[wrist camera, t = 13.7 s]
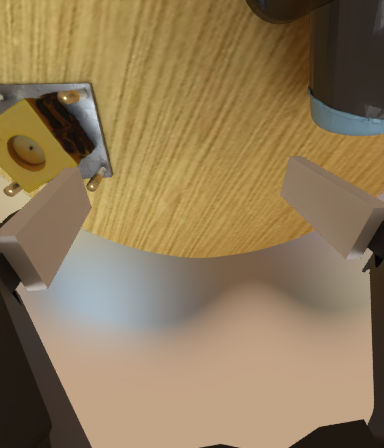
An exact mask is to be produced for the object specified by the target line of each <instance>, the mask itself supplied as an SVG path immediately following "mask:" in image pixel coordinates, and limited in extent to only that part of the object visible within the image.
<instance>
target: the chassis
mask: <svg viewBox="0 0 384 448" xmlns="http://www.w3.org/2000/svg"><path fill="white" fill-rule="evenodd" d="M52 92H56V93H57V94H58V95H57V97H58V100H59V101H60V103H62V104H64V106H65V107H66V109H67V111H68V112H69V113H70V114H72V115H73V116H74V118H75V119H76V120H77V121H78V123H79V125H80V126H81V127H82V129H83V130H84V132H85V133H86V135H87V136H88V138H89V139H90V141H91V142H92V143H93V145H94V147H95V149H94V150H93V152H92V153H91V154H89V155H88V156H86V157H85V159H82V160H81V162H80V164H79V165H78V166H77V167H79V170H80V173H81V176H82V179H86V178H91V179H90V181H89V182H88V184H87V185H86V187H87V189H88V190H89V191H92V192H93V191H95V190H96V189H97V187H98V186H99V184H100V182H101V180H102V179H103V178H104V177H112V175H113V172H112V168H111V164H110V160H109V155H108V151H107V147H106V143H105V138H104V134H103V130H102V126H101V121H100V117H99V113H98V109H97V105H96V100H95V96H94V92H93V88H92V83H75V84H19V85H0V115H1V114H2V113H3V112H5V111H6V110H7V109H9V108H10V107H12V106H13V105H15V104H16V103H17V102H19V101H21V100H22V99H25V98H32V97H33V98H39V97H40V96H41V95H43V94H49V93H52ZM52 180H53V179H52ZM50 181H51V180H50ZM22 189H23V188H22V187H21V186H20V185H19V184H18V183H17V182H16V181H14V182H13V183H12V184H10V185H9V186H7V187H6V188H5V189H4V193H5V194H6V195H7V196H10V197H12V196H14V195H15V194H17V193H18V192H19V191H21V190H22Z"/></svg>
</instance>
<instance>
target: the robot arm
mask: <svg viewBox="0 0 384 448" xmlns="http://www.w3.org/2000/svg"><path fill="white" fill-rule="evenodd" d="M246 1H247V3H248V5H249V6H250V8H251V9H252V10H253V12H254V13H255V14H256V15H257V16H259V17H260V18H261V19H263V20H265V21H267V22H270V23H274V24H283V23H288V22H291V21H293V20H295V19H298V18H300V17H302V16H304V15H306V14H307V13H309V87H308V94H309V97H310V105H311V116H312V119H313V121H314V122H315V123H316V124H318V126H319V127H320V128H322V129H324V130H326V131H329V132H333V133H337V134H343V135H353V136H370V135H380V134H382V133H384V0H246ZM316 8H317V9H316ZM280 195H281V196H282V197H283V198H284V199H285V200H286V201H287V202H288V203H289V204H290V205H291V206H292V207H293V208H294V209H295V210H296V211H297V212H298V213H299V214H300V215H301V216H302V217H303V218H304V219H305V220H306V221H307V222H308V223H309V224H310V225H311V226H312V227H313V228H314V229H315V230H316V231H317V232H319V234H320V235H321V236H322V237H323V238H324V239H325V240H326V241H328V242H329V243H330V245H332V246H333V247H334V248H335V249H336V250H337V251H338V252H339V253H340V254H341V255H342V256H343V257H344V258H345V259H355V258H361V257H362V255H363V254H364V252H365V250H366V249H367V248H369V249H370V250H371V251H372V252H373V254H372V256H371V257H370V259H369V260H368V262H367V264H366V265H365V267H364V268H363V270H362V272H365V271H366V270H368V269H370V273H369V274H370V290H371V319H372V350H373V380H374V409H373V414H372V416H371V418H370V420H369V423H368V426H367V425H366V422H365V421H364V419H363V420H357V421H351V422H346V423H340V424H334V425H328V426H322V427H319V428H317V429H316V430H314V431H313V432H311V433H310V434H308V435H307V436H305V437H304V438H302V439H301V440H299V441H298V442H296V443H295V444H293V445H292V446H291V447H289V448H384V202H382V201H381V200H379V199H377V198H375V197H373V196H372V195H370V194H368V193H366V192H365V191H363V190H361V189H359V188H357V187H356V186H354V185H352V184H350V183H348V182H347V181H345V180H343V179H341V178H340V177H338V176H336V175H334V174H332V173H331V172H329V171H327V170H325V169H323V168H322V167H320V166H318V165H316V164H315V163H313V162H311V161H309V160H307V159H306V158H304V157H302V156H290V158H289V162H288V166H287V170H286V174H285V178H284V182H283V186H282V190H281V194H280ZM91 208H92V207H91V204H90V201H89V198H88V195H87V192H86V189H85V186H84V183H83V180H82V176H81V173H80V170H79V167H74V168H64V169H63V170H62V171H61V172H60V173H59V174H58V175H57V176H56V177H55V178H54V179H53V180H51V181H50V182H49V183H48V184H47V185H46V186H45V187H44V188H43V189H42V190H41V191H40V192H39V193H38V194H36V195H35V196H34V197H33V198H32V199H31V200H30V201H29V202H28V203H27V204H26V205H25V206H24V207H22V209H20V210H18V211H16V212H14V213H13V214H11V215H9V216H8V217H7V218H6V219H5V220H4V221H3V223H0V448H92V447H91V445H90V443H89V441H88V439H87V437H86V434H85V432H84V430H83V428H82V426H81V424H80V422H79V420H78V418H77V415H76V413H75V411H74V409H73V407H72V405H71V403H70V401H69V399H68V397H67V395H66V392H65V390H64V388H63V386H62V384H61V382H60V380H59V377H58V375H57V373H56V371H55V369H54V367H53V365H52V363H51V360H50V358H49V356H48V354H47V352H46V350H45V348H44V346H43V344H42V342H41V339H40V337H39V335H38V333H37V331H36V329H35V327H34V325H33V322H32V320H31V318H30V316H29V314H28V312H27V310H26V308H25V306H24V304H23V301H22V299H21V297H20V295H19V294H18V292H17V291H16V290H15V289H16V288H17V286H18V285H19V283H20V282H22V283H23V285H24V286H25V287H26V289H27V290H28V291H33V290H43V289H48V288H49V286H50V284H51V282H52V280H53V278H54V276H55V275H56V273H57V271H58V269H59V267H60V265H61V264H62V262H63V260H64V258H65V256H66V254H67V253H68V251H69V248H70V247H71V245H72V243H73V241H74V240H75V238H76V236H77V234H78V232H79V230H80V228H81V227H82V225H83V223H84V221H85V219H86V217H87V215H88V214H89V212H90V210H91ZM202 448H238V447H233V446H228V445H223V444H219V445H213V446H207V447H202Z"/></svg>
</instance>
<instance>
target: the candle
mask: <svg viewBox="0 0 384 448" xmlns="http://www.w3.org/2000/svg"><path fill="white" fill-rule="evenodd" d="M57 95H58V94H57V93H56V92H52V93H49V94H43V95H41V96H40V97H39V98H33V97H32V98H25V99H22V100H21V101H19V102H17V103H16V104H15V105H13V106H12V107H10V108H9V109H7V110H6V111H5V112H3V113H2V114H1V115H0V167H1V168H2V169H3V170H4V171H5V172H6V173H8V175H9V176H10V177H11V178H12V179H13V180H15V181H16V182H17V183H18V184H19V185H20V186H21V187H22V188H23V189H24V190H25V191H26V192H28V193H30V192H32V191H34V190H35V189H37V188H38V187H40V186H41V185H43V184H44V183H47V182H49V181H50V180H52V179H54V178H55V177H56V176H57V175H58V174H59V173H60V172H61V171H62V170H63V169H64V168H74V167H77V166H78V165H79V164H80V162H81V160H82V159H85V157H86V156H88V155H89V154H91V153H92V152H93V150H94V149H95V147H94V145H93V143H92V142H91V141H90V139H89V138H88V136H87V135H86V133H85V132H84V130H83V129H82V127H81V126H80V125H79V123H78V121H77V120H76V119H75V118H74V116H73V115H72V114H70V113H69V112H68V111H67V109H66V107H65V106H64V104H62V103H60V101H59V100H58V97H57Z"/></svg>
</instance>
